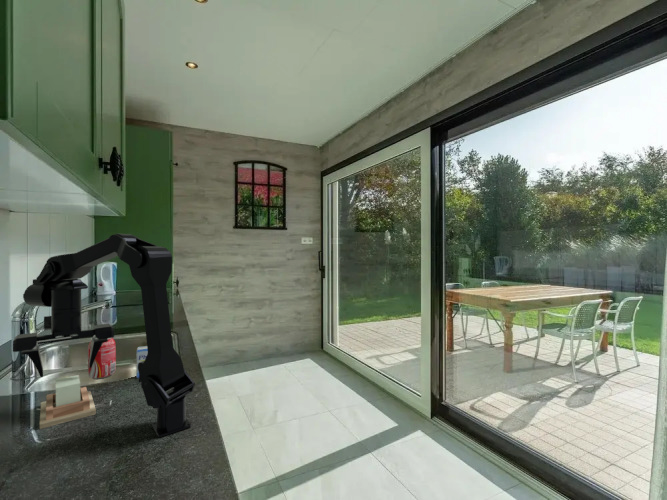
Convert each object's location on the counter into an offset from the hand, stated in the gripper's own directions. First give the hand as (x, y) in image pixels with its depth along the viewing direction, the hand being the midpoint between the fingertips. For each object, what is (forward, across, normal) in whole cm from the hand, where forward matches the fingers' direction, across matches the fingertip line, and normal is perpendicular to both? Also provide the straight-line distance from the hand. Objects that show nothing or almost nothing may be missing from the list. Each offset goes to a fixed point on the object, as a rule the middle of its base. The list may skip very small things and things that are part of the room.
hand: (67, 371), depth 81 cm
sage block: (+8, 0, 0) cm, 8 cm away
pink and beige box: (+9, 0, 0) cm, 9 cm away
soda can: (+10, -9, -21) cm, 25 cm away
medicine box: (+10, -21, -13) cm, 26 cm away
